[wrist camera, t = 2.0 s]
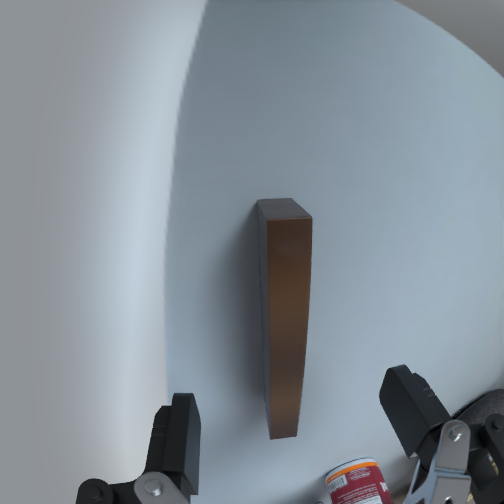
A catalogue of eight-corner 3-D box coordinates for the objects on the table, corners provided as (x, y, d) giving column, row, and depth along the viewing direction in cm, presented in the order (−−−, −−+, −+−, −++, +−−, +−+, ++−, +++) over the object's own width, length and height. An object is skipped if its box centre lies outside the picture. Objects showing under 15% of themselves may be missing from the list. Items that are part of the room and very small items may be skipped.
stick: (256, 199, 13) (266, 218, 10) (291, 197, 13) (312, 216, 10) (264, 398, 18) (269, 440, 14) (287, 396, 18) (296, 436, 14)
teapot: (441, 404, 21) (484, 473, 12) (514, 373, 23) (551, 418, 13) (376, 483, 28) (395, 534, 18) (451, 454, 29) (473, 494, 20)
